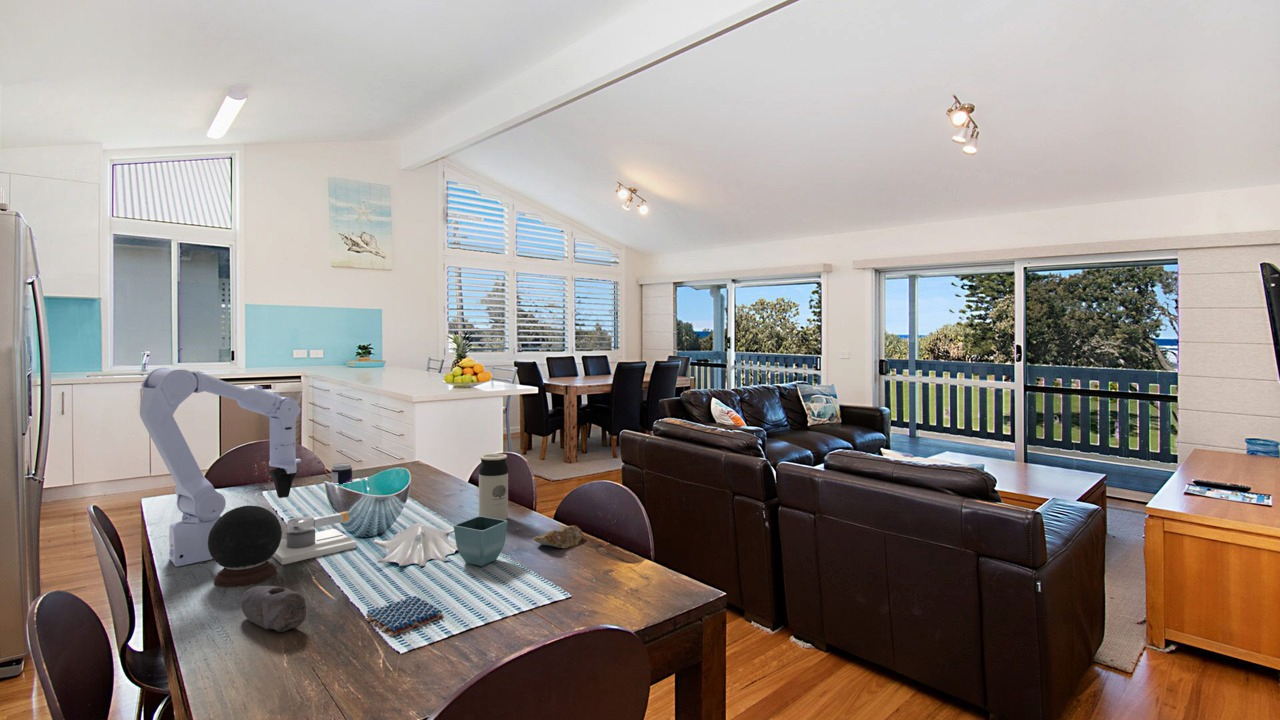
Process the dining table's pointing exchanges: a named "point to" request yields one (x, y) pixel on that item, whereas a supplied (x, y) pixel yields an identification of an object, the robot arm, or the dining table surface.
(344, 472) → the beverage can
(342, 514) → the lever with orange knob
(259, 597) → the perforated stone tool
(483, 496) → the travel mug
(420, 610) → the woven mat
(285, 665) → the dining table surface
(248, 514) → the black egg on stand
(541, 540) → the decorative stone
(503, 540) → the flower pot
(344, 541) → the board
